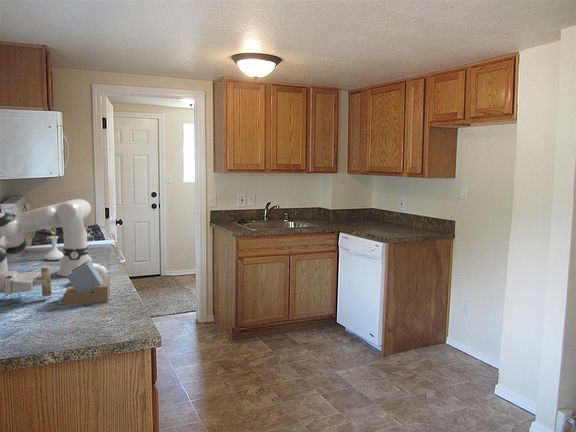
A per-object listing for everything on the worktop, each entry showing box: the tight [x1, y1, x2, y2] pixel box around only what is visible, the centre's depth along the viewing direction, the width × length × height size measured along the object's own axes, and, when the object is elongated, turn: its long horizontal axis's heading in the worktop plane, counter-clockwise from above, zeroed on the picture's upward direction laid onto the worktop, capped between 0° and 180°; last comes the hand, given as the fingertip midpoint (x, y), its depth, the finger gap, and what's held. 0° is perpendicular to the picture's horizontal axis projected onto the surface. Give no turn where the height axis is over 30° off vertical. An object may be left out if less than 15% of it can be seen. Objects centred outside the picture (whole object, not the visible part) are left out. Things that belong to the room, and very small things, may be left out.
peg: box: [40, 266, 52, 297], centre depth 199 cm, size 3×3×12 cm
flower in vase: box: [43, 226, 64, 261], centre depth 278 cm, size 13×11×25 cm
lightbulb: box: [95, 264, 108, 279], centre depth 218 cm, size 6×6×11 cm
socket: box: [62, 260, 111, 306], centre depth 201 cm, size 14×17×16 cm
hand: (48, 280), depth 199 cm, fingers closed on peg, 3 cm apart
